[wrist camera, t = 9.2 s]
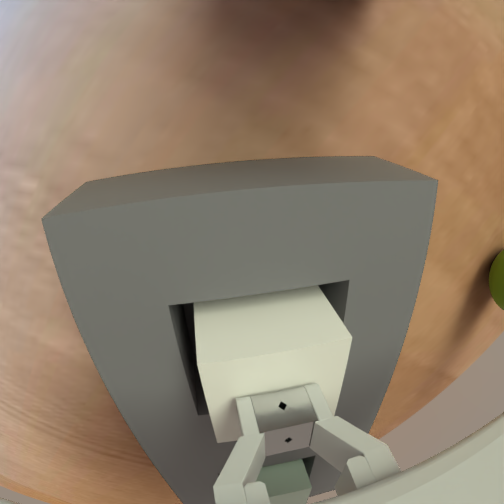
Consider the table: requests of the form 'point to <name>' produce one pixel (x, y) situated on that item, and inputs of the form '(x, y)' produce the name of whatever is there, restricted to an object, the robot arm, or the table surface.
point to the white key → (267, 350)
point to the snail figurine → (497, 280)
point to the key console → (237, 284)
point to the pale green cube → (286, 482)
